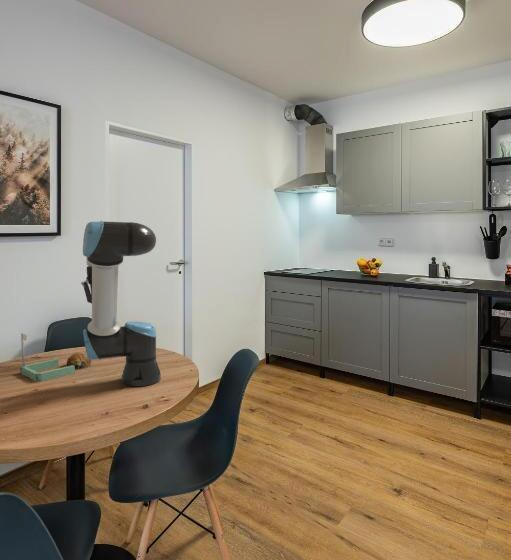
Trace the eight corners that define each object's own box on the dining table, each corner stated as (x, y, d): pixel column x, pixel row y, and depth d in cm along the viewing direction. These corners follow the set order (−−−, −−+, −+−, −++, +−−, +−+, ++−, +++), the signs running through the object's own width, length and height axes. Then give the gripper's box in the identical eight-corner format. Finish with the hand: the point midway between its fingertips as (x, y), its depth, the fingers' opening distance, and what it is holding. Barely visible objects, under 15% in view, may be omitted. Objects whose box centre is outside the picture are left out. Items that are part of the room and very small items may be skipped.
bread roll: (93, 372, 186) (96, 354, 189) (82, 369, 176) (86, 350, 179) (72, 371, 187) (76, 353, 190) (60, 368, 177) (64, 349, 180)
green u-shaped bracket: (74, 373, 173) (73, 333, 172) (37, 382, 162) (35, 339, 160) (56, 365, 183) (55, 327, 182) (20, 373, 172) (18, 333, 170)
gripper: (104, 264, 193) (105, 314, 195) (77, 265, 183) (78, 318, 185) (113, 265, 188) (114, 316, 191) (86, 266, 178) (87, 321, 181)
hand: (96, 317), depth 188 cm, fingers closed
